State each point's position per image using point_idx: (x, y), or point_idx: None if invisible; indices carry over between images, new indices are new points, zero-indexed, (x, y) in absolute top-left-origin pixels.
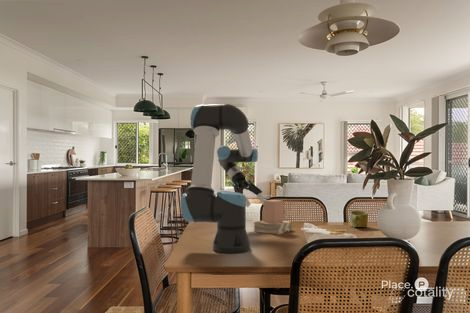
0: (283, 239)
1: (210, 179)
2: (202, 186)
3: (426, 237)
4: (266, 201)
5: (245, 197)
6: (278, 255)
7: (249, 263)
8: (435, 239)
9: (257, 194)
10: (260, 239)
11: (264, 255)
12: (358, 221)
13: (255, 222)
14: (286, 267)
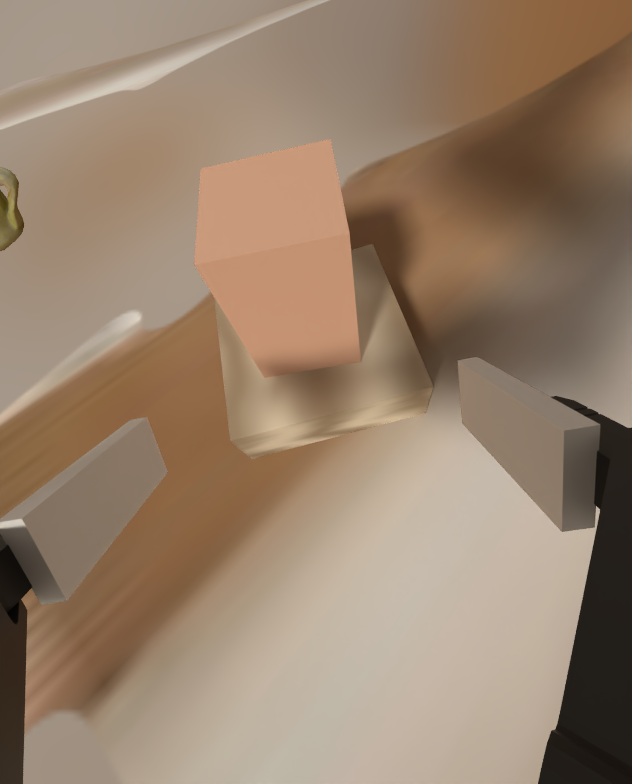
0: (429, 207)
1: None
2: None
3: (79, 94)
4: (343, 211)
5: (544, 394)
6: (608, 79)
7: None
8: (94, 79)
9: (11, 607)
10: (529, 245)
11: None
12: (2, 194)
13: (429, 378)
14: None
